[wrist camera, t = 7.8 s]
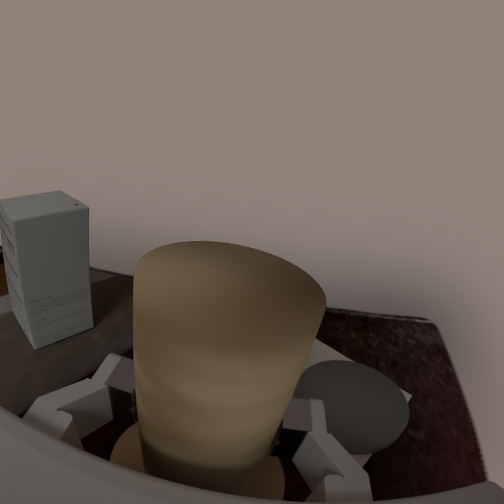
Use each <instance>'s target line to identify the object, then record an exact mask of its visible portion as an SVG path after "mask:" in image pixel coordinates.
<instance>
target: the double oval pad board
mask: <svg viewBox="0 0 504 504" xmlns="http://www.w3.org/2000/svg"><path fill="white" fill-rule="evenodd" d="M293 396H294V397H302V398H308V399H309V398H310V399H318V400H322V401H323V403H324V410H325V418H326V426H327V433H329V434H332V435H333V436H334V438H335V439H336V440H337V441H338V442H339V443H340V444H341V445H342V446H343V447H344V449H345V450H346V451H347V452H348V453H349V454H350V455H351V456H352V457H353V458H354V459H355V461H356V462H357V463H358V464H359V465H360V466H361V467H363V466H364V464H365V463H366V462H367V460H368V459H369V458H370V457H371V455H372V454H373V453H377V452H380V451H382V450H384V449H386V448H388V447H389V446H391V445H392V444H393V443H394V442H395V441H396V440H397V438H398V437H399V436H400V434H401V433H402V432H403V430H404V429H405V428H406V426H407V423H408V420H409V406H408V401H409V400H410V398H411V396H412V395H410V394H408V393H407V392H405V391H403V390H401V389H400V388H399V387H398V386H397V385H396V384H395V383H394V382H393V381H392V380H391V379H389V378H388V377H387V376H385V375H384V374H382V373H381V372H379V371H377V370H375V369H373V368H371V367H369V366H366V365H363V364H360V363H356V362H353V361H352V360H350V359H348V358H347V357H345V356H343V355H342V354H340V353H339V352H337V351H335V350H334V349H332V348H330V347H329V346H327V345H325V344H324V343H322V342H320V341H319V340H317V339H316V338H315V340H314V343H313V345H312V348H311V351H310V353H309V356H308V358H307V361H306V363H305V366H304V369H303V371H302V374H301V376H300V379H299V381H298V383H297V386H296V388H295V391H294V393H293Z"/></svg>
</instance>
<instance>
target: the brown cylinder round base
mask: <svg viewBox="0 0 504 504" xmlns="http://www.w3.org/2000/svg"><path fill="white" fill-rule="evenodd" d="M325 309H326V298H325V294H324V292H323V290H322V288H321V287H320V285H319V284H318V283H317V282H316V281H315V280H314V279H313V278H312V277H311V276H310V275H309V274H307V273H306V272H305V271H303V270H302V269H300V268H299V267H297V266H295V265H294V264H292V263H290V262H288V261H286V260H284V259H282V258H280V257H277V256H275V255H272V254H269V253H266V252H264V251H260V250H257V249H253V248H249V247H246V246H240V245H236V244H229V243H221V242H209V241H190V242H180V243H174V244H169V245H165V246H162V247H159V248H156V249H154V250H152V251H150V252H148V253H147V254H145V255H144V256H143V257H142V258H141V259H140V260H139V261H138V263H137V264H136V266H135V270H134V286H133V347H134V374H135V391H136V405H137V416H138V422H136V423H135V425H134V424H133V425H132V426H130V427H129V428H128V429H127V430H126V431H125V432H124V433H123V434H122V435H121V436H120V438H119V439H118V441H117V443H116V444H115V446H114V449H113V451H112V454H111V458H110V462H112V463H115V464H118V465H121V466H123V467H126V468H129V469H132V470H135V471H138V472H141V473H144V474H147V475H151V476H154V477H157V478H161V479H164V480H168V481H171V482H175V483H179V484H183V485H187V486H191V487H196V488H200V489H205V490H210V491H215V492H220V493H226V494H232V495H238V496H245V497H252V498H260V499H269V500H279V501H282V500H283V496H284V490H285V479H284V473H283V469H282V466H281V463H280V461H279V459H278V457H275V456H270V445H271V443H272V441H273V439H274V437H275V434H276V432H277V430H278V428H279V426H280V423H281V421H282V419H283V417H284V414H285V412H286V410H287V407H288V405H289V403H290V400H291V398H292V396H293V393H294V391H295V388H296V386H297V383H298V381H299V379H300V376H301V374H302V371H303V369H304V366H305V363H306V361H307V358H308V356H309V353H310V351H311V348H312V345H313V343H314V340H315V337H316V335H317V332H318V329H319V326H320V324H321V321H322V318H323V315H324V312H325Z"/></svg>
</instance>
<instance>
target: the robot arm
mask: <svg viewBox="0 0 504 504" xmlns="http://www.w3.org/2000/svg"><path fill="white" fill-rule="evenodd" d="M113 418H115V419H118V420H121V421H124V422H127V423H131V424H134V425H135V423H136V421H137V418H138V416H137V405H136V391H135V374H134V360H132V359H129V358H126V357H122V356H119V355H117V354H114V353H110V354H109V355H108V356H107V357H106V359H105V360H104V362H103V363H102V364H101V366H100V367H99V369H98V370H97V372H96V373H95V375H94V376H93V377H92V379H88V378H87V379H85V380H82V381H80V382H77V383H75V384H72V385H70V386H67V387H64V388H62V389H59V390H57V391H54V392H51V393H49V394H46V395H43V396H41V397H38V398H37V400H36V401H35V402H34V403H33V405H32V406H31V407H30V409H29V410H28V411H27V413H26V414H25V416H24V417H23V418H22V419H21V418H19V417H18V416H16V415H14V414H13V413H11V412H9V411H8V410H6V409H5V408H3V407H2V406H0V504H504V489H503V488H501V487H500V486H499V485H497V484H496V483H494V482H492V481H486V482H482V483H478V484H475V485H471V486H467V487H463V488H459V489H454V490H450V491H445V492H440V493H435V494H429V495H423V496H417V497H410V498H402V499H393V500H383V501H373V499H372V493H371V487H370V481H369V475H368V473H367V472H366V471H365V470H364V469H363V468H362V467H361V466H360V465H359V464H358V463H357V462H356V461H355V459H354V458H353V457H352V456H351V455H350V454H349V453H348V452H347V451H346V450H345V449H344V447H343V446H342V445H341V444H340V443H339V442H338V441H337V440H336V439H335V438H334V436H333V435H332V434H329V433H327V426H326V418H325V410H324V403H323V401H322V400H318V399H310V398H309V399H308V398H302V397H294V396H292V398H291V400H290V403H289V405H288V407H287V410H286V412H285V414H284V417H283V419H282V421H281V423H280V426H279V428H278V430H277V432H276V434H275V437H274V439H273V441H272V443H271V445H270V456H275V457H282V458H289V459H292V461H293V462H294V464H295V465H296V467H297V469H298V470H299V472H300V473H301V475H302V477H303V478H304V480H305V481H306V483H307V484H308V486H309V487H310V489H311V491H312V493H311V494H310V495H309V496H308V497H307V499H306V500H305V501H304V502H293V501H279V500H269V499H260V498H252V497H245V496H238V495H232V494H226V493H220V492H215V491H210V490H205V489H200V488H196V487H191V486H187V485H183V484H179V483H175V482H171V481H168V480H164V479H161V478H157V477H154V476H151V475H147V474H144V473H141V472H138V471H135V470H132V469H129V468H126V467H123V466H121V465H118V464H115V463H112V462H110V461H107V460H105V459H102V458H100V457H97V456H95V455H92V454H90V453H88V452H85V451H84V449H83V446H82V444H81V441H80V439H82V438H83V437H85V436H87V435H88V434H90V433H91V432H93V431H95V430H96V429H98V428H100V427H101V426H103V425H105V424H106V423H108V422H109V421H111V420H113Z"/></svg>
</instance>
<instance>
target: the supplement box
mask: <svg viewBox="0 0 504 504" xmlns="http://www.w3.org/2000/svg"><path fill="white" fill-rule="evenodd" d="M0 229H1V239H2V248H3V256H4V263H5V271H6V277H7V283H8V289H9V295H10V300H11V305H12V310H13V313H14V315H15V316H16V318H17V320H18V322H19V324H20V325H21V327H22V329H23V331H24V332H25V334H26V336H27V338H28V339H29V341H30V343H31V344H32V346H33V347H34V349H35V350H37V349H40V348H42V347H45V346H47V345H50V344H52V343H55V342H57V341H60V340H62V339H65V338H67V337H70V336H72V335H75V334H78V333H80V332H83V331H85V330H88V329H90V328H93V327H94V325H93V315H92V304H91V289H90V271H89V208H88V207H87V206H86V205H84V204H83V203H81V202H80V201H78V200H76V199H74V198H72V197H70V196H69V195H67V194H65V193H63V192H61V191H54V192H48V193H41V194H34V195H28V196H21V197H15V198H9V199H3V200H0Z"/></svg>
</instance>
